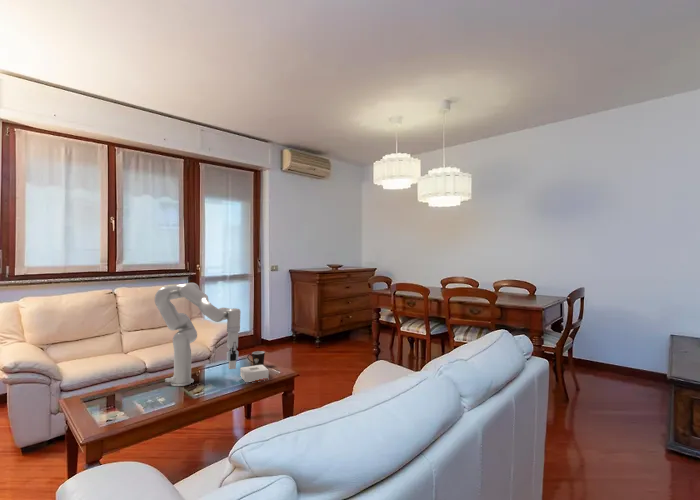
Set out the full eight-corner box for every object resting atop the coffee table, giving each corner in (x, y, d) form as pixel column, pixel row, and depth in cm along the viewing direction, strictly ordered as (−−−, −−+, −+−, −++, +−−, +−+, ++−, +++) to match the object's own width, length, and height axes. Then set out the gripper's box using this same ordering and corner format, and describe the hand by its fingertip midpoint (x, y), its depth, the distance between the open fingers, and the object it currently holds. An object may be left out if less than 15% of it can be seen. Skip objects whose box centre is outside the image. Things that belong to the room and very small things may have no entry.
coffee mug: (267, 366, 252) (267, 352, 253) (258, 369, 245) (258, 354, 245) (255, 364, 258) (255, 350, 259) (246, 367, 251) (246, 352, 252)
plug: (227, 369, 215) (228, 352, 216) (226, 367, 219) (226, 351, 219) (237, 368, 218) (238, 351, 218) (236, 366, 222) (237, 350, 222)
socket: (245, 383, 217) (245, 373, 217) (240, 377, 229) (240, 367, 229) (268, 379, 223) (268, 369, 223) (262, 373, 236) (262, 364, 236)
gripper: (224, 327, 225) (223, 357, 224) (229, 332, 210) (228, 363, 209) (236, 326, 228) (235, 355, 228) (242, 331, 214) (241, 362, 213)
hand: (232, 359), depth 219 cm, fingers closed on plug, 4 cm apart
